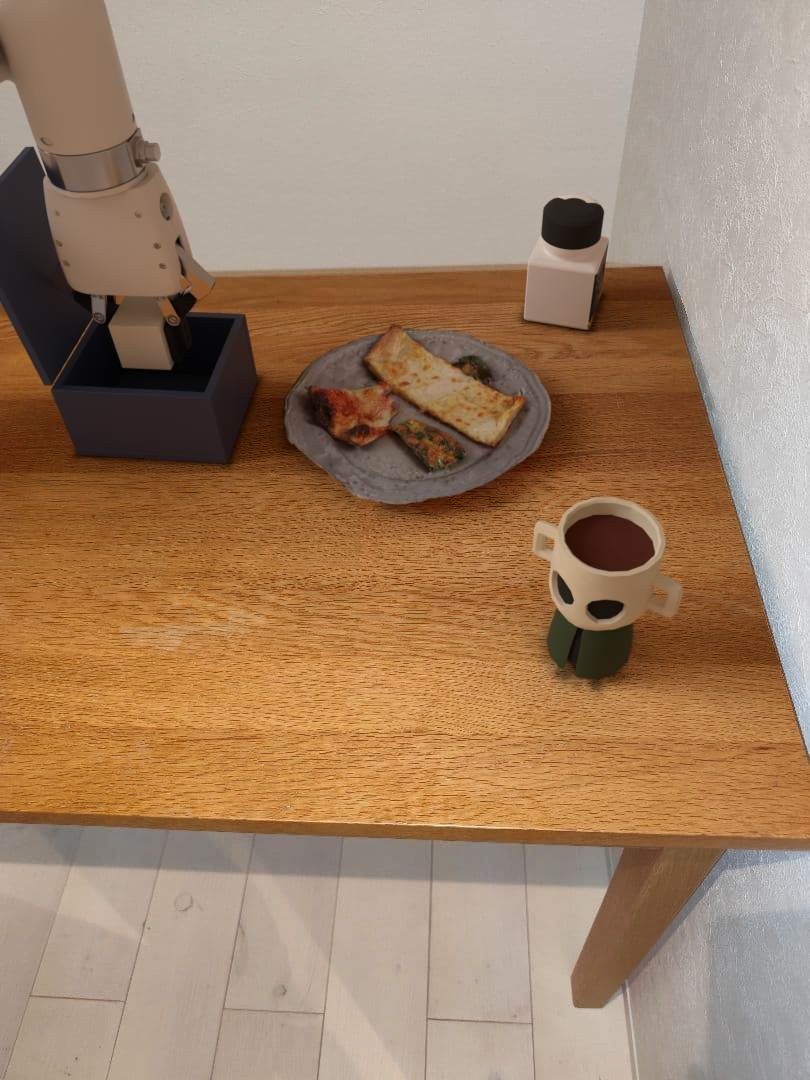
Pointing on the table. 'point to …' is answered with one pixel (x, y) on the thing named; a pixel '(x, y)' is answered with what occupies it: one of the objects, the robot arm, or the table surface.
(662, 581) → the character mug
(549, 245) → the medicine bottle
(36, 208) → the lid
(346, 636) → the table surface
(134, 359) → the cube block
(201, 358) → the case
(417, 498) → the food plate
